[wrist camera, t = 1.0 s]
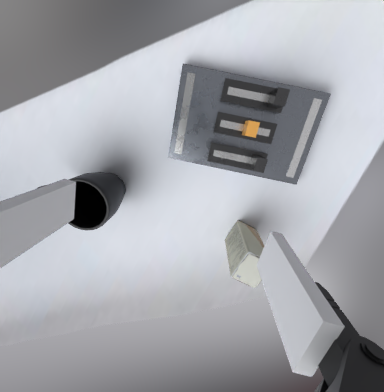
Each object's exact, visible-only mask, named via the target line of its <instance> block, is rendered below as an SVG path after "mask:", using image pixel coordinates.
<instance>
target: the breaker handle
mask: <svg viewBox="0 0 384 392" xmlns="http://www.w3.org/2000/svg"><path fill="white" fill-rule="evenodd" d="M259 125H260V122H255V121H250V120H248V121H245V124H244V128H243V132H242V135H245V136H250V137H254V138H256V135H257V132H258V128H259Z"/></svg>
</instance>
